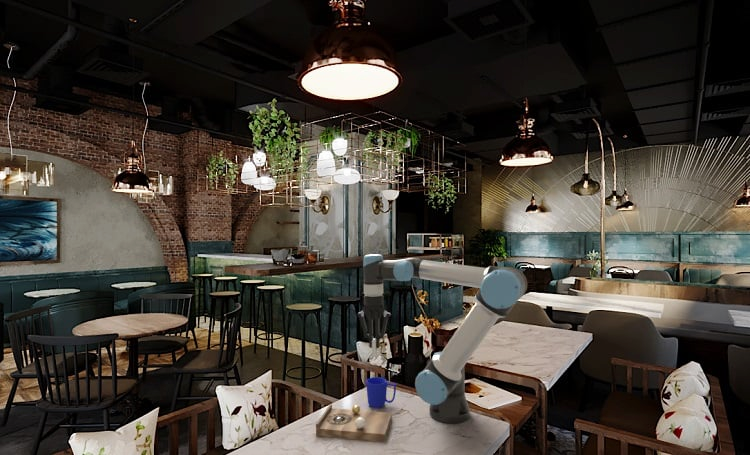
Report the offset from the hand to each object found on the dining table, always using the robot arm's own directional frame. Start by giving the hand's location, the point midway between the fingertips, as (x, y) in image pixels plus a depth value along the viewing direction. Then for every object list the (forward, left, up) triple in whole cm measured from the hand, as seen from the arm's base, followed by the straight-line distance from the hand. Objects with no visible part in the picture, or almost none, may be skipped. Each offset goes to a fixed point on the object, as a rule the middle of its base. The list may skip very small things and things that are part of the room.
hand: (374, 356), depth 154 cm
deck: (+5, +11, -22) cm, 25 cm away
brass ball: (+6, +6, -18) cm, 20 cm away
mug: (-1, -8, -23) cm, 24 cm away
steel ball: (+11, +11, -21) cm, 26 cm away
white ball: (+2, +16, -18) cm, 24 cm away
